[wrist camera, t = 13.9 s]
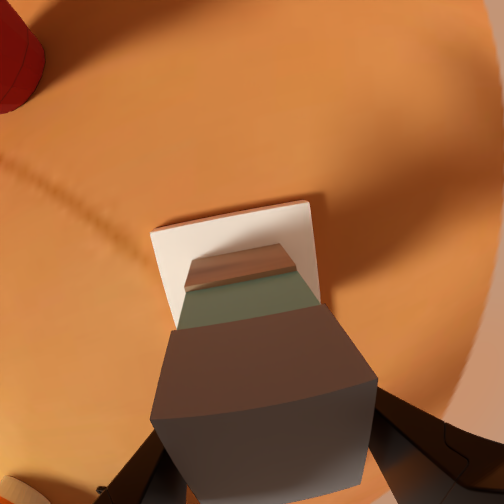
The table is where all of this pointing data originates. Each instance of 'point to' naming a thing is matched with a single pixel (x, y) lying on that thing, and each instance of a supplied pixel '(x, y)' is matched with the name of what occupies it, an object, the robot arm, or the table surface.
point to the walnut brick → (238, 267)
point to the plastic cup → (17, 59)
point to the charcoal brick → (266, 408)
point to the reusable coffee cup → (19, 493)
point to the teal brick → (246, 300)
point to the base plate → (235, 243)
